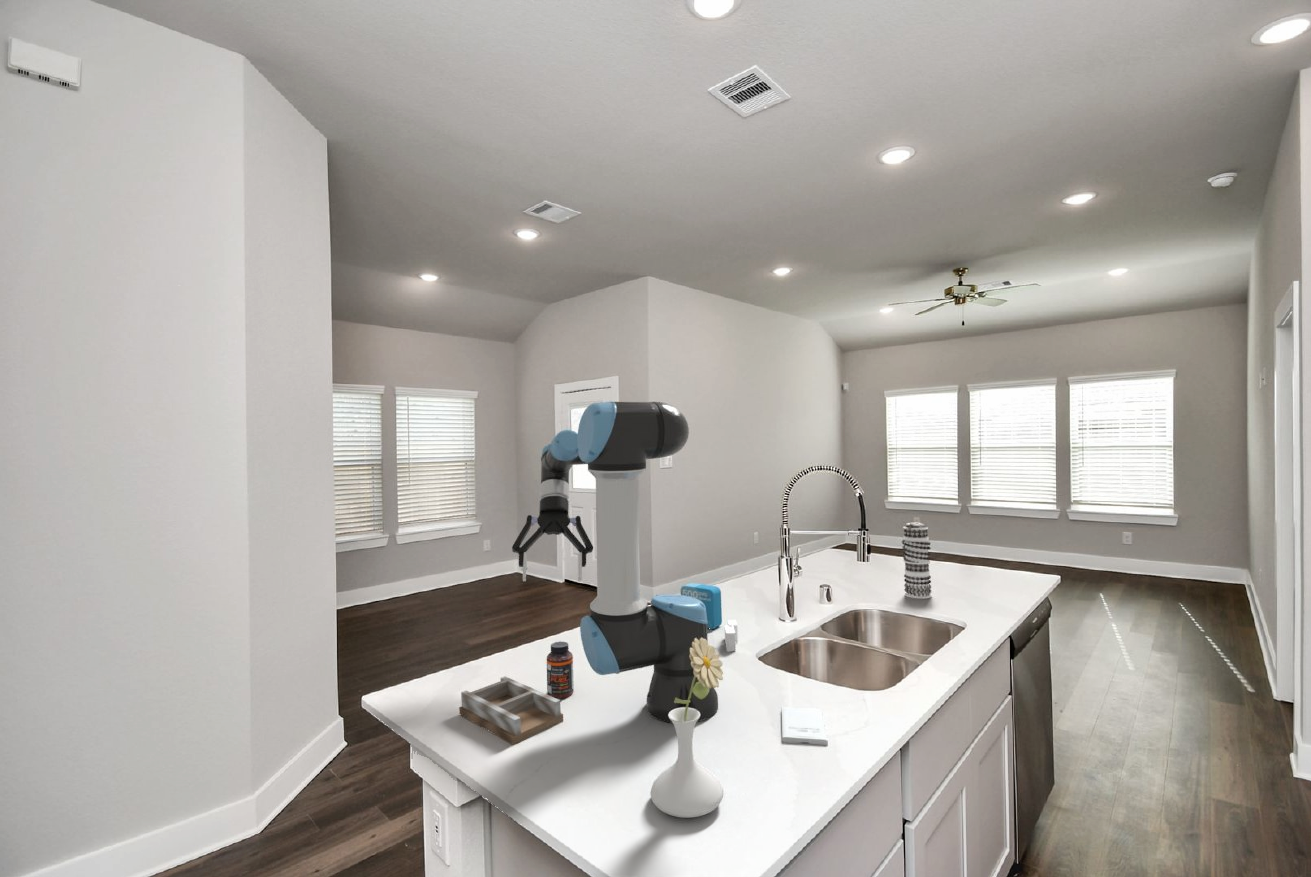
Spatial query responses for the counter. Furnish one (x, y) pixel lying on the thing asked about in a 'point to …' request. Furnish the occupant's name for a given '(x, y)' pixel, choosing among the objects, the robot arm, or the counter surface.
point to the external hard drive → (803, 726)
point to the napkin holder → (731, 635)
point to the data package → (706, 601)
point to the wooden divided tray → (511, 710)
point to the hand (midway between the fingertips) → (552, 579)
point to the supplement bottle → (560, 671)
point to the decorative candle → (916, 561)
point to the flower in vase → (690, 747)
